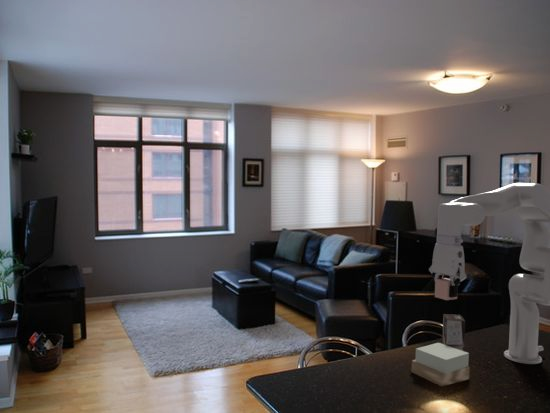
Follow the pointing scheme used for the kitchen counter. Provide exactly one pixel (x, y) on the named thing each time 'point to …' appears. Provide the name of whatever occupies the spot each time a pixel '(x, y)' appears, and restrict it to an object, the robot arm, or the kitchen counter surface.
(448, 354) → the tower top
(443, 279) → the pink block
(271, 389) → the kitchen counter surface
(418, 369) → the tower base
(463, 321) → the coffee box
